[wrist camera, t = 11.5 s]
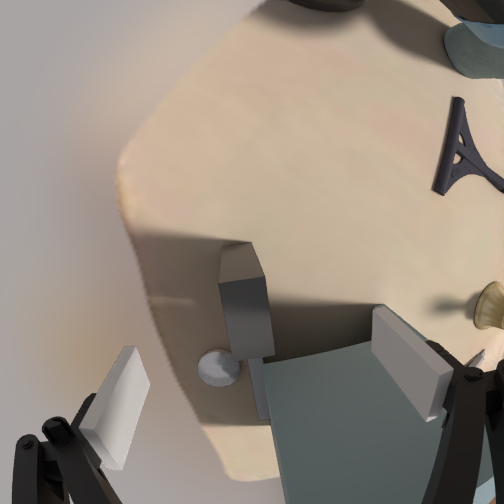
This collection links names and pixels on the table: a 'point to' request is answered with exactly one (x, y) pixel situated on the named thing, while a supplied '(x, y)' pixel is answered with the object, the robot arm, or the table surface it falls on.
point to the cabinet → (353, 431)
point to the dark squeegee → (462, 154)
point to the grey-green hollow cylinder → (473, 54)
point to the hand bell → (490, 307)
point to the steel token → (218, 368)
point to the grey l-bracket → (247, 314)
